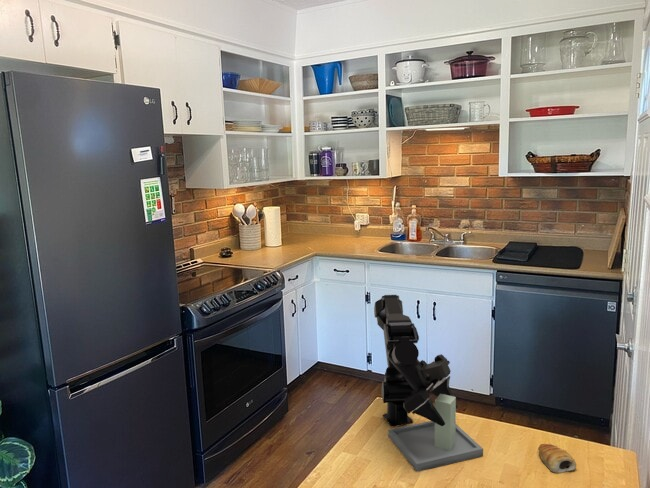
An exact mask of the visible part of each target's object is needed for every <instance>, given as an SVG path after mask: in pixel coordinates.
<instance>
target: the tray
mask: <svg viewBox="0 0 650 488" xmlns="http://www.w3.org/2000/svg"><path fill="white" fill-rule="evenodd" d="M387 432H388V433H387V436H388V438H389V439H390V441H391V440H392V441H391V443H393V445H394V446H395V447H396V448H397V450H398V451H399V452H400V453H401V455H402V456H404V458H405V460H407V462H408V463H409V464H410V465H411V467H412V468H413V469H414V471H415V472H417V473H418V472H421V471H426V470H430V469H434V468H435V469H436V468H438V467H444V466H447V465H451V464H452V465H453V464H455V463H460V462H464V461H469V460H473V459H477V458H482V457H484V448H483V447H482V446H481V445H480V444H479V443H477V442H476V441H475V440H474V439H473V437H471V436H470V435H469V434H468V433H467V432H465V431H464V430H463V429H462V428H461V427H460V426H458V424H456V430H455V444H454V446H453V448H452V449H451V451H448V450H445V449H441V448H438V447H435V422H433V421H431V420H429V421H424V422H423V421H422V422H419V423H414V424H410V425H408V424H407V425H404V426H398V427H395V428H394V427H393V428H389V429H388V430H387Z"/></svg>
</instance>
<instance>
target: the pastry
mask: <svg viewBox="0 0 650 488" xmlns="http://www.w3.org/2000/svg"><path fill="white" fill-rule="evenodd" d="M537 451H538V453H539V456H540V460H541V461H542V462H543V464H544V465H545V466H546V467H547V469H549V470H550V471H551V472H553V473H557V474H562V473H566V472H570V471H571V472H572V471H574V470H575V469H576V467H577V463H576V461H575V458H574V457H573V456H571V454H570V453H568V452H567V450H565V449H561V448H560V447H558V445H554V444H551V443H542V444H541V443H540V444H539V446H538V448H537Z"/></svg>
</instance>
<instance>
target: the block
mask: <svg viewBox="0 0 650 488" xmlns="http://www.w3.org/2000/svg"><path fill="white" fill-rule="evenodd" d="M456 404H457V397H456V396H454V395H453V396H449V395H445V394H440V395H439V396H438V397H437V396H436V398H435V399H434V407H435V408H436V410H437V411H438V413H439V414H440V416H441V417H442V418H443V420H444V422H445V425H444V426H440V425H438V424H436V423H435V447H438V448H441V449H445V450H448V451H451V449H452V448H453V446H454V444H455V430H456V425H457V424H456V422H457V420H456V419H457V418H456V417H457V415H456V413H457V409H456Z"/></svg>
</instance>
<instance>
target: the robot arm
mask: <svg viewBox="0 0 650 488" xmlns="http://www.w3.org/2000/svg"><path fill="white" fill-rule="evenodd" d="M373 310H374V311H373V312H374V313H373V314H374V318H376V322H377V325H378V326H379V328H380V329H381V330H382V331H383V338H384V345H385V354H386V362H387V367H386V369H385V372H384V379H383V381H382V383H381V389H380V390H381V392H380V393H381V398H382V403H383V404H386V408H387V409H386V413H383V414H382V417H383V418H384V419H385V421H386V423H388V424H389V425H390V426H391V427H393V428H394V427H400V426H403V425H404V426H405V425H408V424H412V423H413V422H414V421H413V419H412V418H411V417H410V416H409V414H410V413H411V414H412V415H415V414H416V415H417V416H421V417H422V418H425V419H427V420H429V421H433V422H435V423H436V424H438V425H440V426H444V425H445V422H444V420H443V418H442V417H441V416H440V414H439V413H438V411H437V410H436V408H435V405H434V401H433V399H434V398H433V396H430V393H429V392H431V393H432V394H434V395H435V396H436V398H437V397H438V396H439V395H440V394H445V395H449V396H453V397H454V394H453V393H452V390H451V388H450V380H451V376H450V374H451V371H452V370H451V369H450V366H449V365H450V363H451V361H449V360H448V358H447V357H445V356H444V355H443V354H441V353H440V354H438V355H436V356H435V357H434V360H433V361H432V362H429V363H427V362H426V361H425V360H423V359H422V360H419V358H418V357H419V355H420V354H419V349H418V347H417V345H416V344H418V343H419V341H420V336H419V333H418V330H417V327H416V326H415V324H414V323H413V321H412V319H411V317H410V316H408V315H405V314H404V308H403V301H402V300H401V299H400V296H399V295H398V294H384V295H382V296H381V298H380V299H378V300H376V301H375V302H374V307H373ZM458 408H459V407H458V405H457V403H456V410H458Z"/></svg>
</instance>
